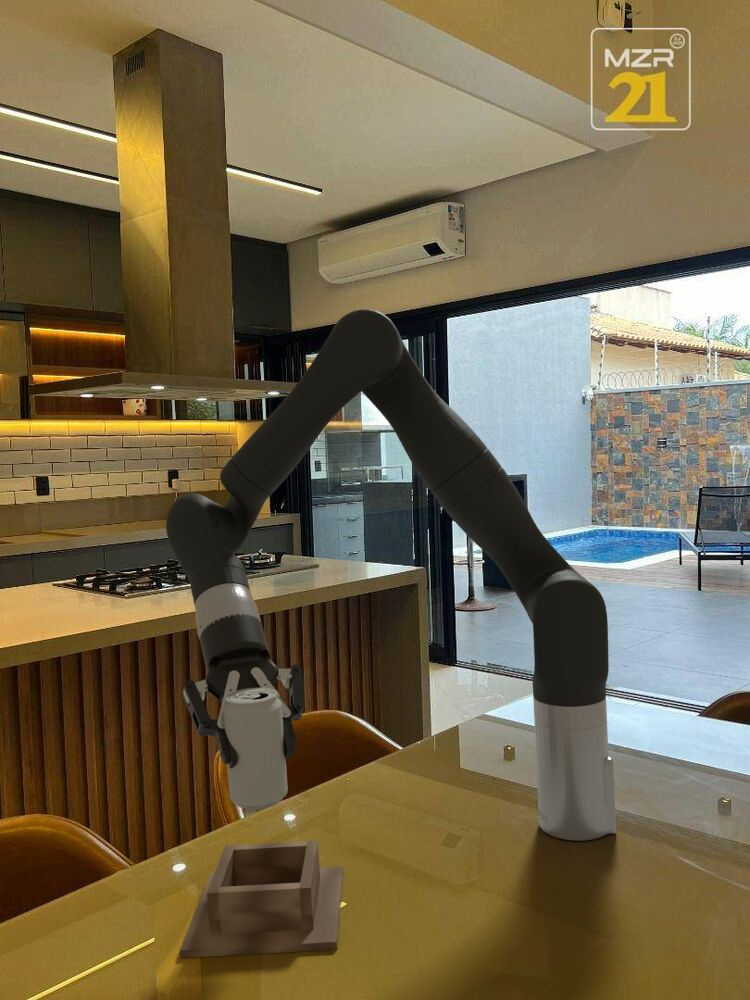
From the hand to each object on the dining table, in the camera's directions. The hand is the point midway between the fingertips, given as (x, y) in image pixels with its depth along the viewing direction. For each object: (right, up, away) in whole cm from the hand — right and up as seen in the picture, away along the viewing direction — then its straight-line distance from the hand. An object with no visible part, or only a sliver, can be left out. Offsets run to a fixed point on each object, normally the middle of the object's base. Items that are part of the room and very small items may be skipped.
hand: (261, 759), depth 94 cm
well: (0, -18, +3) cm, 18 cm away
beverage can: (-1, -5, +2) cm, 6 cm away
